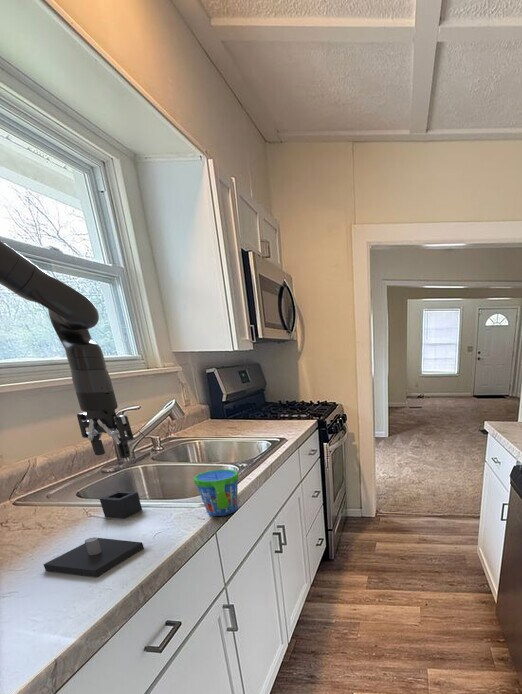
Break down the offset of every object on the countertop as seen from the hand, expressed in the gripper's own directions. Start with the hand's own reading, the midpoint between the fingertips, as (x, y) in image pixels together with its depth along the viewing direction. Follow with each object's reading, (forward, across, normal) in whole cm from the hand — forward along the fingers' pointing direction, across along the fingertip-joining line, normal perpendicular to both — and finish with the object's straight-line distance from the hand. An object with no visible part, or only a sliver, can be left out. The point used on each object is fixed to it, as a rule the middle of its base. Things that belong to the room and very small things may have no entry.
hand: (112, 456), depth 101 cm
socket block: (+15, +1, -2) cm, 15 cm away
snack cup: (+15, +25, +7) cm, 30 cm away
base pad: (+15, +17, -22) cm, 32 cm away
